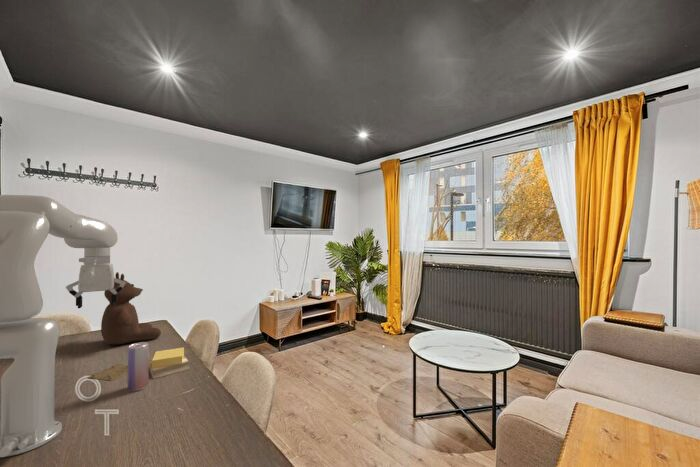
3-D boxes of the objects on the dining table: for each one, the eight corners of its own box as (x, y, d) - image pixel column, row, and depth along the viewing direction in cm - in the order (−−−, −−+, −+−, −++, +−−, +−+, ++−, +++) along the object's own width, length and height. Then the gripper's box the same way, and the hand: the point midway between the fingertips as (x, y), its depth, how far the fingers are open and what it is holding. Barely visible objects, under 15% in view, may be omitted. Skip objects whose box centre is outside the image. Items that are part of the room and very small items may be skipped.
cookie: (112, 382, 109) (112, 379, 109) (86, 379, 111) (86, 376, 111) (141, 368, 120) (141, 365, 120) (117, 365, 123) (117, 363, 123)
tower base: (188, 369, 118) (188, 361, 118) (153, 378, 111) (153, 370, 111) (182, 359, 127) (182, 352, 127) (148, 367, 120) (148, 360, 120)
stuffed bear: (166, 341, 151) (167, 272, 151) (109, 354, 133) (111, 276, 134) (147, 329, 169) (148, 268, 170) (95, 339, 152) (97, 271, 153)
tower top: (182, 363, 117) (182, 355, 117) (151, 368, 112) (151, 360, 112) (183, 354, 126) (183, 347, 126) (155, 358, 121) (156, 351, 121)
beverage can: (124, 393, 100) (124, 348, 101) (132, 384, 106) (132, 342, 106) (144, 390, 102) (144, 347, 102) (151, 382, 108) (151, 341, 108)
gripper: (63, 262, 105) (63, 311, 104) (124, 260, 114) (124, 305, 114) (69, 261, 111) (68, 307, 111) (126, 259, 120) (126, 301, 120)
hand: (96, 305), depth 112 cm, fingers open, 9 cm apart
